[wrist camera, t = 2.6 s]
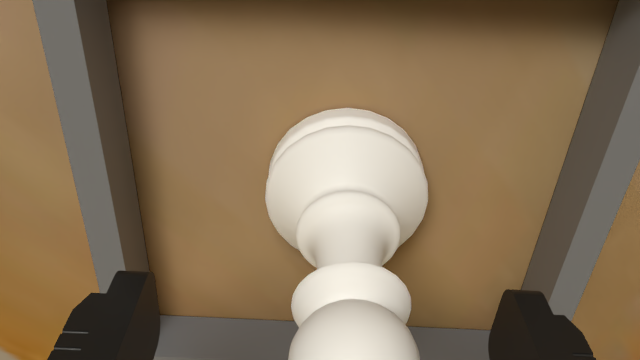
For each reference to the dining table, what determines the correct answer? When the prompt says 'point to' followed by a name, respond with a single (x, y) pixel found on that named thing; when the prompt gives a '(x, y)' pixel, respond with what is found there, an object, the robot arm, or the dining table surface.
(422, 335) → the grey square frame
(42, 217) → the dining table surface
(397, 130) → the chess pawn
